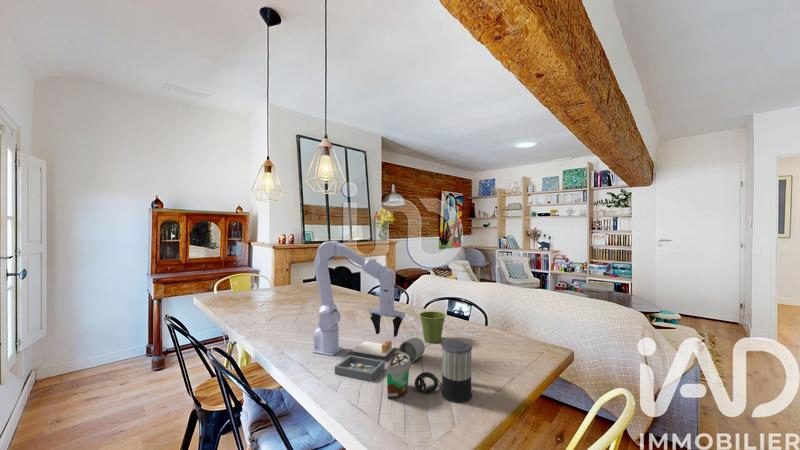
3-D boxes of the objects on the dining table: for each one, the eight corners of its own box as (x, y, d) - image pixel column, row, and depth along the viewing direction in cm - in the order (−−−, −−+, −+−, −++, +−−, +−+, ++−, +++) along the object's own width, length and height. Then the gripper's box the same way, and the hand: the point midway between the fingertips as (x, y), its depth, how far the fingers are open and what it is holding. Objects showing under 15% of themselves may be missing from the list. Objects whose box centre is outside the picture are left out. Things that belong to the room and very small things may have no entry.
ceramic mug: (426, 357, 122) (425, 336, 122) (416, 365, 115) (416, 343, 115) (402, 352, 127) (401, 332, 127) (391, 359, 120) (391, 339, 120)
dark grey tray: (334, 374, 108) (334, 366, 108) (349, 362, 117) (349, 355, 117) (371, 381, 102) (371, 373, 102) (384, 368, 112) (384, 361, 112)
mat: (347, 354, 124) (347, 353, 124) (362, 343, 135) (362, 342, 135) (387, 361, 118) (387, 360, 118) (399, 349, 129) (399, 348, 129)
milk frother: (478, 400, 92) (478, 349, 92) (427, 409, 87) (427, 355, 87) (456, 377, 105) (456, 333, 105) (411, 384, 101) (411, 337, 101)
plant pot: (450, 338, 141) (450, 313, 141) (438, 347, 131) (438, 320, 131) (426, 333, 148) (426, 309, 148) (414, 341, 138) (414, 315, 138)
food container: (407, 404, 90) (407, 368, 90) (386, 401, 91) (386, 366, 91) (414, 382, 102) (414, 351, 102) (395, 380, 103) (395, 350, 103)
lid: (352, 353, 124) (352, 342, 124) (364, 344, 134) (364, 334, 134) (384, 358, 119) (385, 348, 119) (395, 348, 128) (395, 339, 128)
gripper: (365, 300, 123) (365, 335, 124) (400, 304, 118) (400, 340, 118) (373, 296, 130) (373, 329, 130) (406, 300, 125) (406, 334, 125)
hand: (386, 334), depth 125 cm, fingers open, 7 cm apart
